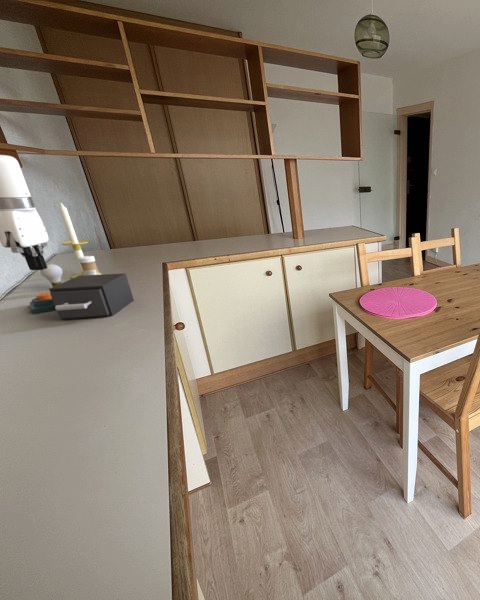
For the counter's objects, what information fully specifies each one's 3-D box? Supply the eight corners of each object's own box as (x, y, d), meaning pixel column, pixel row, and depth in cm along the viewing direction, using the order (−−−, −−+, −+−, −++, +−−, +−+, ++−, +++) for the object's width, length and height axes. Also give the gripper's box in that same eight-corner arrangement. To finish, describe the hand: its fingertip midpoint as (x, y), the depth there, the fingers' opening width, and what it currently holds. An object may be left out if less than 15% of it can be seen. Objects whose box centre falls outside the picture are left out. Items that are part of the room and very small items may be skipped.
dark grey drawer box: (112, 316, 103) (102, 285, 100) (61, 320, 100) (48, 288, 96) (133, 300, 116) (125, 273, 113) (89, 303, 113) (79, 275, 109)
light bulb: (46, 291, 123) (36, 267, 119) (49, 287, 127) (39, 263, 124) (67, 288, 126) (58, 264, 123) (69, 285, 131) (60, 261, 127)
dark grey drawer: (100, 320, 98) (90, 294, 95) (50, 324, 95) (38, 297, 91) (128, 300, 114) (121, 277, 111) (86, 303, 111) (77, 279, 107)
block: (67, 307, 109) (63, 298, 107) (33, 314, 103) (28, 304, 102) (64, 300, 115) (60, 291, 113) (31, 306, 109) (27, 297, 108)
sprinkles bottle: (107, 287, 129) (96, 255, 125) (100, 290, 125) (89, 258, 121) (93, 287, 128) (82, 255, 124) (86, 291, 124) (74, 258, 119)
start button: (54, 298, 108) (52, 294, 107) (38, 301, 105) (36, 296, 105) (53, 296, 110) (51, 291, 109) (38, 299, 108) (36, 294, 107)
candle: (104, 275, 144) (80, 202, 133) (75, 280, 137) (46, 203, 125) (97, 271, 149) (73, 200, 138) (68, 276, 142) (40, 201, 130)
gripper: (18, 202, 91) (42, 263, 97) (-32, 206, 77) (-1, 277, 84) (51, 202, 93) (72, 262, 99) (7, 206, 79) (34, 276, 86)
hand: (39, 269), depth 91 cm, fingers closed
